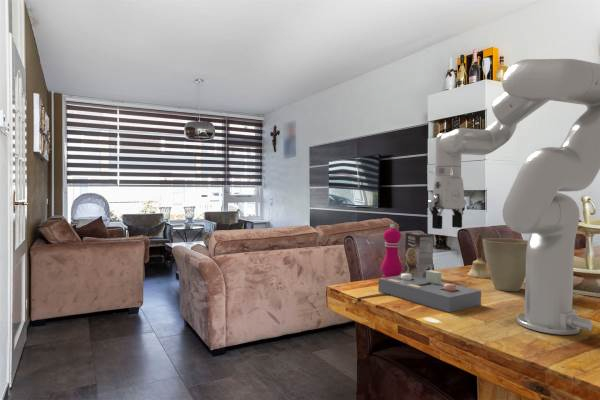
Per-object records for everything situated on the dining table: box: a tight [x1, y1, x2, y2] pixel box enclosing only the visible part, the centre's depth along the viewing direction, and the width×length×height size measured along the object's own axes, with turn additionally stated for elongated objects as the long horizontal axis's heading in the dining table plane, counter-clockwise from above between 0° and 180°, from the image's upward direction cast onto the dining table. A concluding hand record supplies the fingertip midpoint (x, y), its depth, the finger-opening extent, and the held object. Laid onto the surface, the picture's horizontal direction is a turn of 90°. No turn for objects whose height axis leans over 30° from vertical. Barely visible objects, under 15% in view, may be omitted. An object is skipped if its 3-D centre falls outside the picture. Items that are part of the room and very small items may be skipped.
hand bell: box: [466, 233, 491, 279], centre depth 152 cm, size 8×8×16 cm
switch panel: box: [377, 274, 482, 313], centre depth 119 cm, size 26×14×4 cm, turn 33°
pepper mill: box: [380, 223, 403, 278], centre depth 142 cm, size 7×7×20 cm
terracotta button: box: [444, 282, 457, 292], centre depth 112 cm, size 3×3×2 cm
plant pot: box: [483, 237, 529, 292], centre depth 131 cm, size 15×15×16 cm
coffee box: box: [404, 231, 434, 278], centre depth 150 cm, size 9×6×16 cm
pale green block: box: [426, 269, 442, 285], centre depth 121 cm, size 4×2×6 cm, turn 33°
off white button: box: [400, 272, 412, 281], centre depth 126 cm, size 3×3×2 cm
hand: (447, 227), depth 125 cm, fingers open, 9 cm apart
